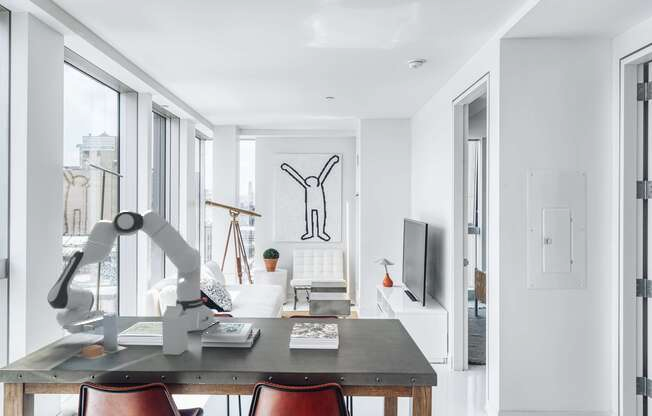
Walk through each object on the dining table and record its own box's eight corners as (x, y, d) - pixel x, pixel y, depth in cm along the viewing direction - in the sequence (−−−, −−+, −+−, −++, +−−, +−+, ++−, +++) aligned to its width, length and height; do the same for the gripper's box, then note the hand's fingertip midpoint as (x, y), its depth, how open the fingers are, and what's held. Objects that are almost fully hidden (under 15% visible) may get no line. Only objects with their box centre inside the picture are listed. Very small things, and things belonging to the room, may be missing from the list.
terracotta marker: (94, 351, 184) (94, 344, 184) (102, 353, 181) (102, 346, 181) (82, 355, 179) (82, 347, 179) (90, 357, 177) (90, 349, 177)
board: (111, 346, 194) (111, 343, 194) (127, 350, 188) (127, 347, 188) (74, 357, 180) (74, 355, 180) (91, 362, 174) (91, 359, 174)
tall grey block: (112, 345, 191) (111, 312, 191) (120, 347, 188) (119, 314, 188) (101, 349, 186) (100, 315, 186) (109, 351, 184) (108, 316, 184)
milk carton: (178, 355, 181) (177, 308, 181) (162, 354, 182) (161, 307, 182) (187, 349, 188) (186, 304, 187) (172, 348, 189) (171, 303, 189)
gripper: (60, 319, 187) (79, 324, 180) (105, 309, 205) (124, 312, 198) (60, 334, 187) (79, 339, 180) (105, 322, 205) (125, 326, 198)
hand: (103, 325), depth 189 cm, fingers open, 8 cm apart
